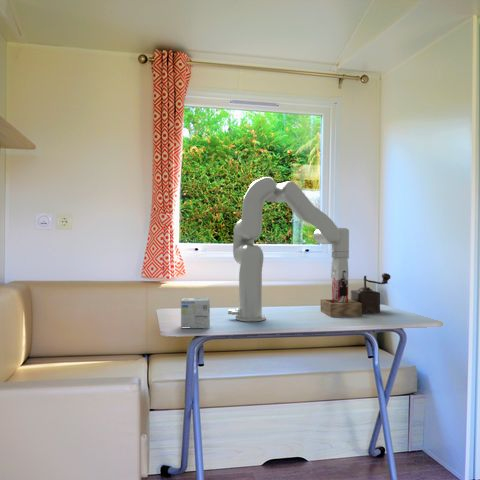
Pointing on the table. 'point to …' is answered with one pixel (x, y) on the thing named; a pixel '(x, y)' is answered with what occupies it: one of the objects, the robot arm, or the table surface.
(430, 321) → the table surface
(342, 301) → the soda can
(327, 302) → the open wooden box
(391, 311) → the table surface
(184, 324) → the light bulb box
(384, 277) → the manual coffee grinder
